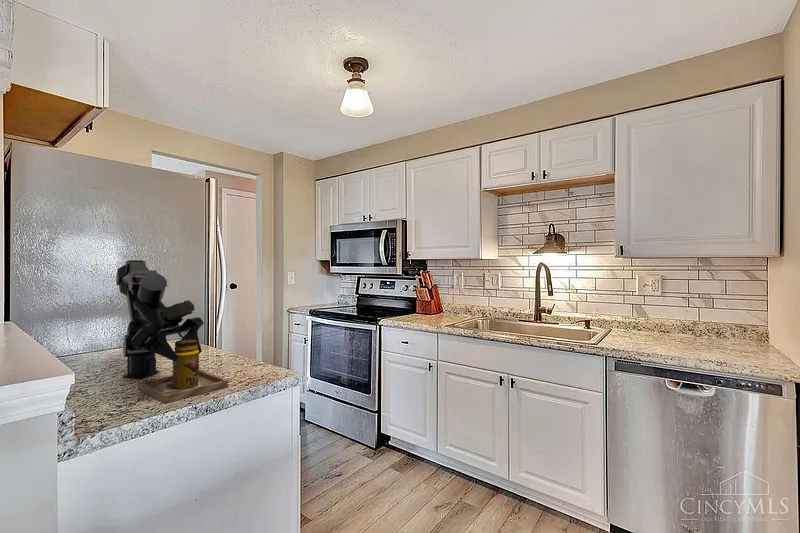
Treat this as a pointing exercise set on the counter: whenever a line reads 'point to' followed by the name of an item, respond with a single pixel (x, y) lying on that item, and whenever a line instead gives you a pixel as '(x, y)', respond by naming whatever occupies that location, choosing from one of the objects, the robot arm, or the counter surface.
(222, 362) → the counter surface
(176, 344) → the condiment
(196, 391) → the tray
